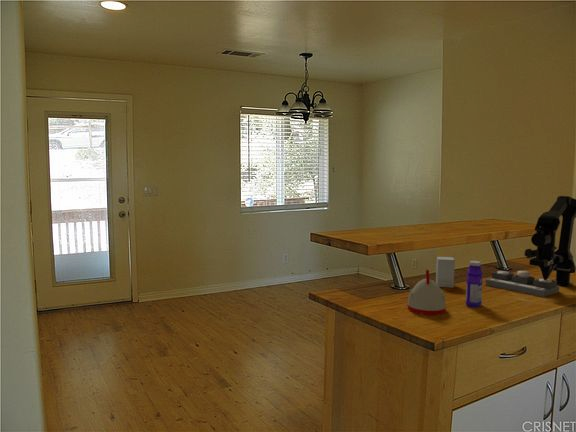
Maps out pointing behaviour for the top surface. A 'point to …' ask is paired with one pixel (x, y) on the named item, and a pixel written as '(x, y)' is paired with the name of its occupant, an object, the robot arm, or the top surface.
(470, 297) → the bottle
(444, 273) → the supplement box
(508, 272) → the button
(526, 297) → the top surface
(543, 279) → the button end
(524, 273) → the button mid
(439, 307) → the grey dome
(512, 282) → the button board
